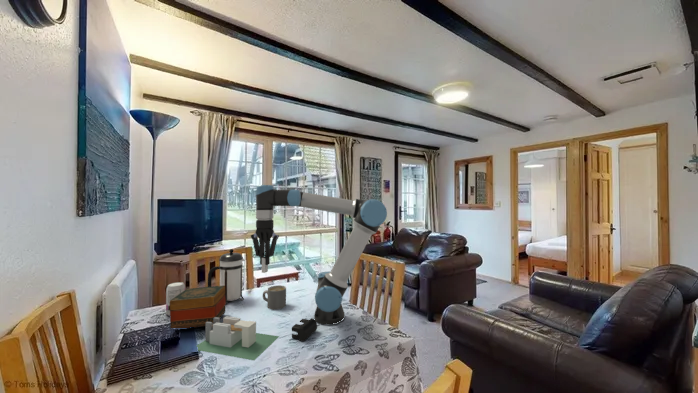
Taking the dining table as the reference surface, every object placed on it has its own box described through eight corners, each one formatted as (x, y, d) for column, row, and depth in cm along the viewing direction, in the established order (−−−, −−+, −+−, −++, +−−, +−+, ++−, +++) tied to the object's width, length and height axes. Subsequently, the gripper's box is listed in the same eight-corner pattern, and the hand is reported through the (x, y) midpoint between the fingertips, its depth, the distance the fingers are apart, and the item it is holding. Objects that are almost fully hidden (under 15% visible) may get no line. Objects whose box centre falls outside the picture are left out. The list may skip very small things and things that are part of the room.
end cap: (305, 345, 112) (305, 329, 112) (291, 342, 115) (291, 325, 115) (317, 334, 122) (317, 319, 122) (303, 331, 124) (303, 316, 124)
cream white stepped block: (255, 341, 113) (256, 321, 113) (248, 347, 108) (248, 327, 108) (241, 338, 115) (241, 319, 115) (233, 345, 110) (233, 325, 110)
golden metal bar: (247, 329, 112) (247, 325, 112) (243, 332, 110) (243, 328, 110) (213, 325, 117) (213, 321, 117) (209, 327, 114) (209, 324, 114)
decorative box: (212, 335, 122) (217, 297, 123) (160, 332, 120) (166, 294, 121) (229, 318, 142) (233, 285, 143) (185, 315, 140) (189, 282, 142)
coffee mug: (289, 304, 155) (289, 286, 155) (278, 311, 146) (278, 292, 146) (270, 300, 161) (270, 283, 161) (258, 306, 152) (258, 288, 152)
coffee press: (224, 295, 170) (225, 246, 170) (249, 296, 168) (249, 247, 168) (206, 305, 153) (207, 251, 153) (233, 307, 150) (233, 252, 151)
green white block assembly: (279, 339, 117) (279, 317, 117) (254, 363, 100) (254, 338, 100) (223, 330, 124) (223, 310, 125) (191, 352, 107) (191, 328, 107)
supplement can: (162, 315, 140) (162, 285, 141) (177, 309, 148) (177, 281, 148) (173, 317, 137) (173, 287, 137) (188, 311, 145) (188, 283, 145)
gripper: (282, 218, 126) (282, 270, 126) (256, 218, 128) (255, 269, 128) (274, 220, 118) (274, 275, 118) (246, 219, 121) (246, 273, 121)
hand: (264, 271), depth 123 cm, fingers closed
